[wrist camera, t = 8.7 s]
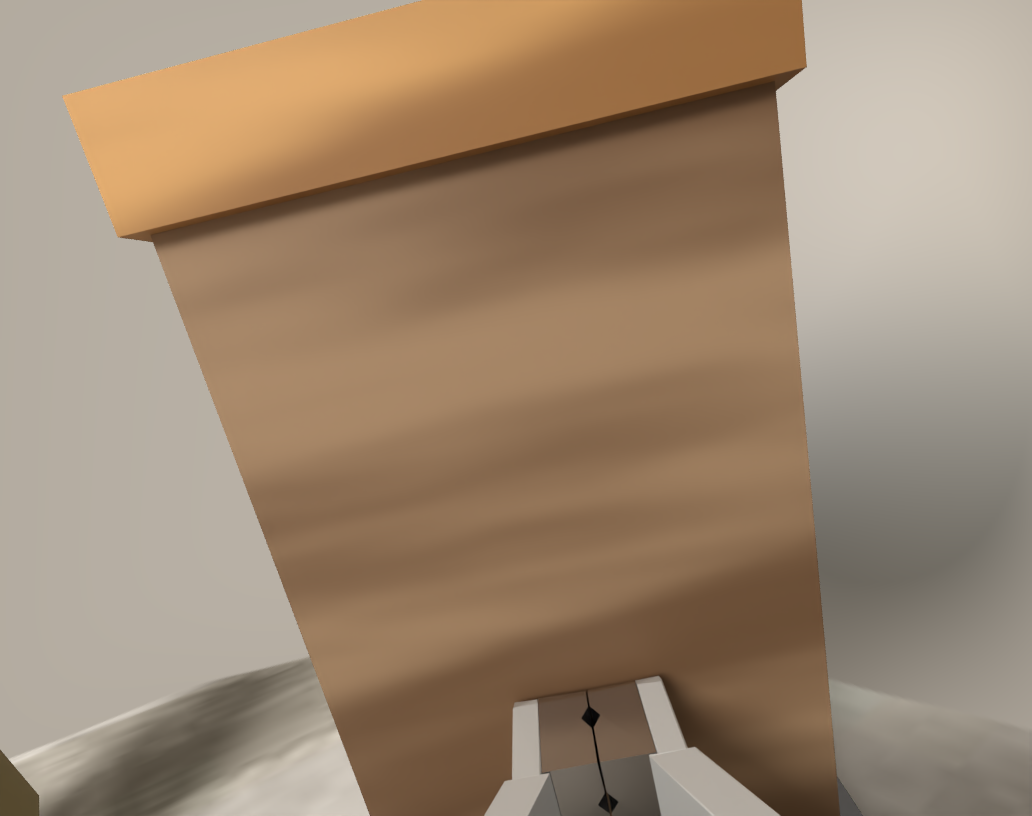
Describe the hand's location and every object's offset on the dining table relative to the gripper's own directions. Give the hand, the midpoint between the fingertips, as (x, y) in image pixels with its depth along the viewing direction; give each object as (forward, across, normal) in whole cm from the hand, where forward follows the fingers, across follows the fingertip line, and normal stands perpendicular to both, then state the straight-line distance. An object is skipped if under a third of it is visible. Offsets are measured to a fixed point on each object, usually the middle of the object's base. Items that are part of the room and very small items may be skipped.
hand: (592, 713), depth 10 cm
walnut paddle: (+2, 0, +8) cm, 8 cm away
